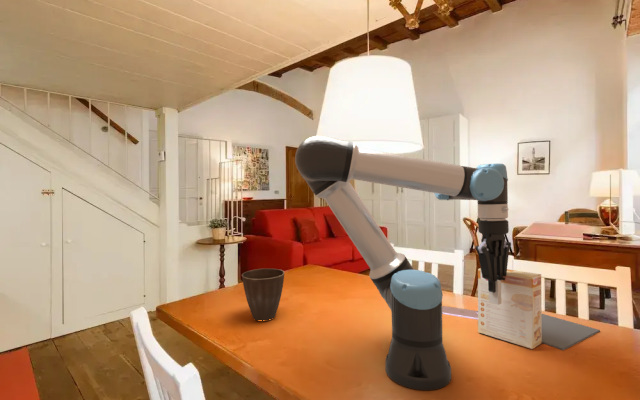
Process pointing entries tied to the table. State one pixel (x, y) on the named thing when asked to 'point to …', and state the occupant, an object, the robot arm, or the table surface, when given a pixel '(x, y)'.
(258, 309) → the plant pot
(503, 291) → the coffeecake box
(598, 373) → the table surface
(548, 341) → the placemat
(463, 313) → the mobile phone
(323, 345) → the table surface
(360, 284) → the table surface
